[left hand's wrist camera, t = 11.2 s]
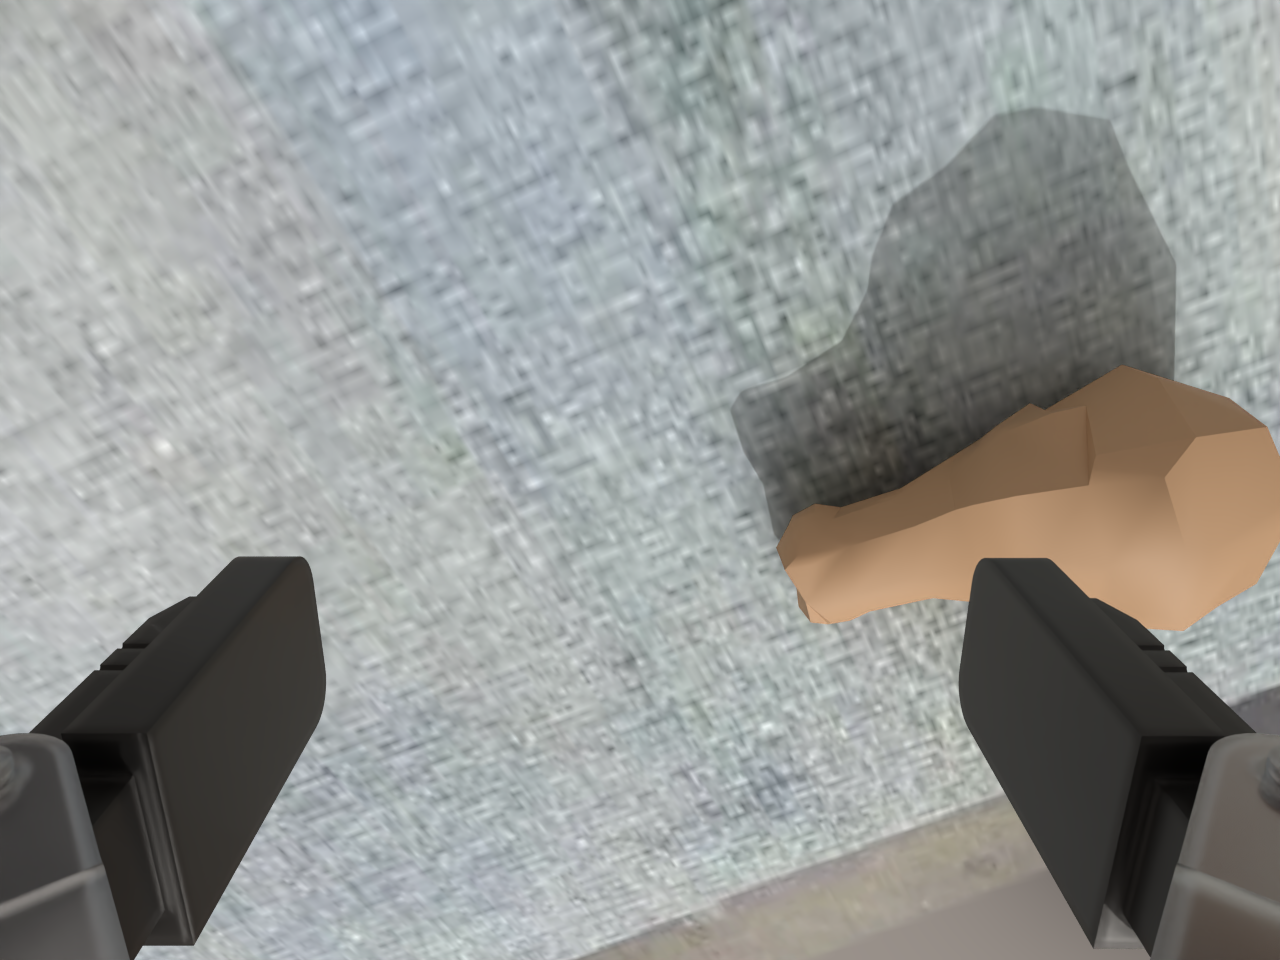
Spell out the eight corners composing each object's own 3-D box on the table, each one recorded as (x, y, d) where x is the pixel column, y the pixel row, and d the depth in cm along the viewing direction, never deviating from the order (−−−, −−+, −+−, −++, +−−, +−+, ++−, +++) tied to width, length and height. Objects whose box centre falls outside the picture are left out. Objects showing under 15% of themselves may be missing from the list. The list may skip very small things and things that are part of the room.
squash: (1229, 513, 42) (1343, 645, 35) (811, 612, 47) (831, 747, 40) (1219, 306, 37) (1351, 407, 30) (750, 441, 42) (760, 558, 34)
